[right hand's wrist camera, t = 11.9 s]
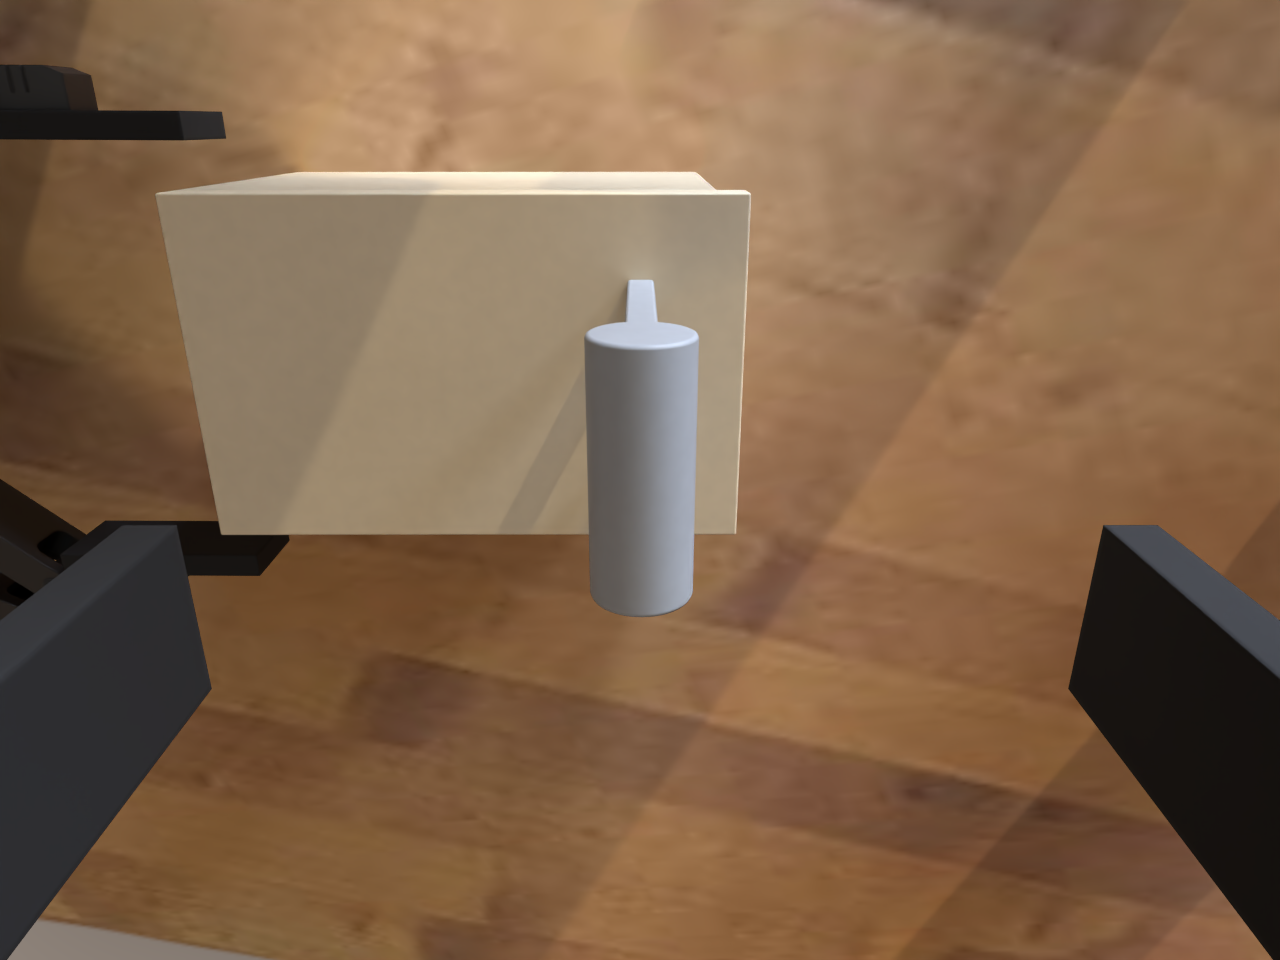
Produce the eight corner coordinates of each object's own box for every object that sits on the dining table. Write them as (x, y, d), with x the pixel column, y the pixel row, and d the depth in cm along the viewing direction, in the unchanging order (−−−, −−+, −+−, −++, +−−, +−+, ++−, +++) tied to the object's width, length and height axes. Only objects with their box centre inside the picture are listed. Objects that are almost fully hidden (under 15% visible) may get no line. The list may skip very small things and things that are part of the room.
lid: (746, 189, 24) (807, 228, 15) (732, 519, 27) (775, 702, 19) (175, 189, 24) (-90, 229, 15) (236, 520, 27) (51, 703, 19)
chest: (696, 171, 32) (717, 189, 24) (691, 425, 36) (707, 519, 27) (297, 171, 32) (176, 190, 24) (331, 425, 36) (237, 519, 27)
